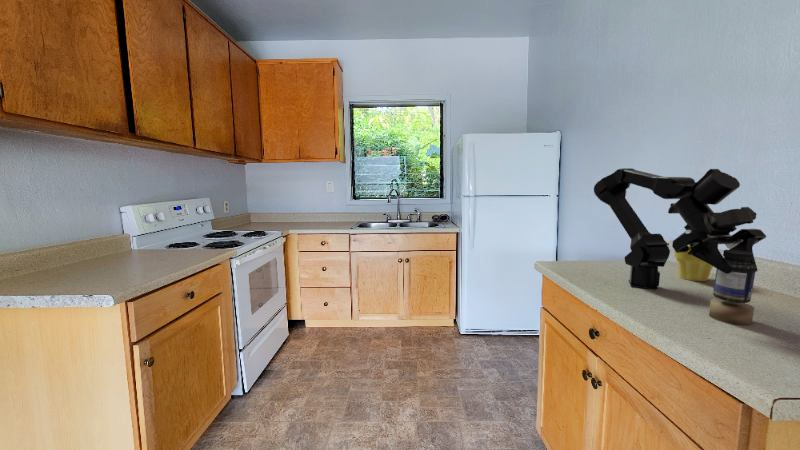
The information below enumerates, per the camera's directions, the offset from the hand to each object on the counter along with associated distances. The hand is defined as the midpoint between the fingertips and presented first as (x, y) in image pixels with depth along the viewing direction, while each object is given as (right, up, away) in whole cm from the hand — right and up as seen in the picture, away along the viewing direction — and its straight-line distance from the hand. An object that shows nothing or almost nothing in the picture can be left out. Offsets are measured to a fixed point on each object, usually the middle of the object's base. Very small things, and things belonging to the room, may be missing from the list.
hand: (742, 272), depth 73 cm
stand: (0, -11, +3) cm, 11 cm away
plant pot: (+19, -7, +33) cm, 39 cm away
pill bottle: (0, -7, +2) cm, 7 cm away
